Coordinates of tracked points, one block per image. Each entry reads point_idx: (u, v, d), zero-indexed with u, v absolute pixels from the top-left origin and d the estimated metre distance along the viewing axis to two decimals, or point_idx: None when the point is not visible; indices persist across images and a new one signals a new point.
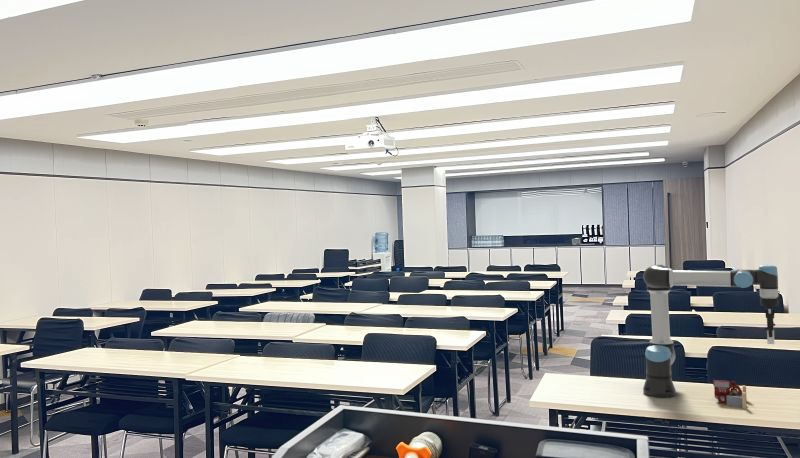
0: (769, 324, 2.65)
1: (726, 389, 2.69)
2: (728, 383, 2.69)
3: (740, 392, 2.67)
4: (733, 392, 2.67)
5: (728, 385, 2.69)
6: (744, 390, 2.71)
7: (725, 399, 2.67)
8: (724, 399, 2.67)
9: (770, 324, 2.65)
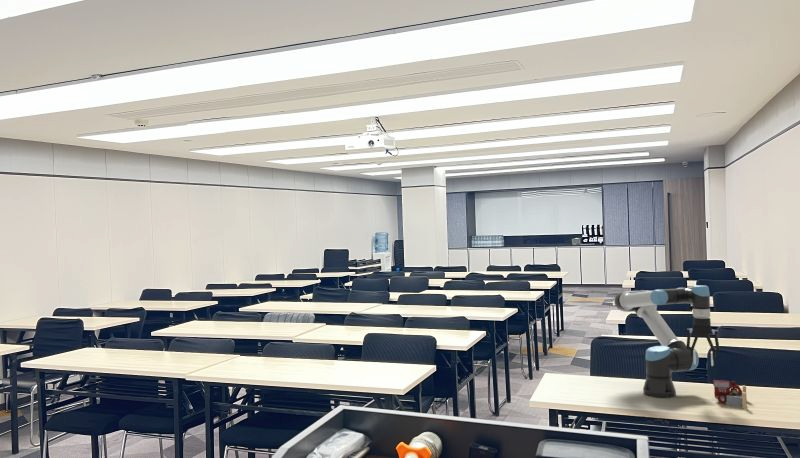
0: None
1: (726, 389, 2.69)
2: (728, 383, 2.69)
3: (740, 392, 2.67)
4: (733, 392, 2.67)
5: (728, 385, 2.69)
6: (744, 390, 2.71)
7: (725, 399, 2.67)
8: (724, 399, 2.67)
9: None
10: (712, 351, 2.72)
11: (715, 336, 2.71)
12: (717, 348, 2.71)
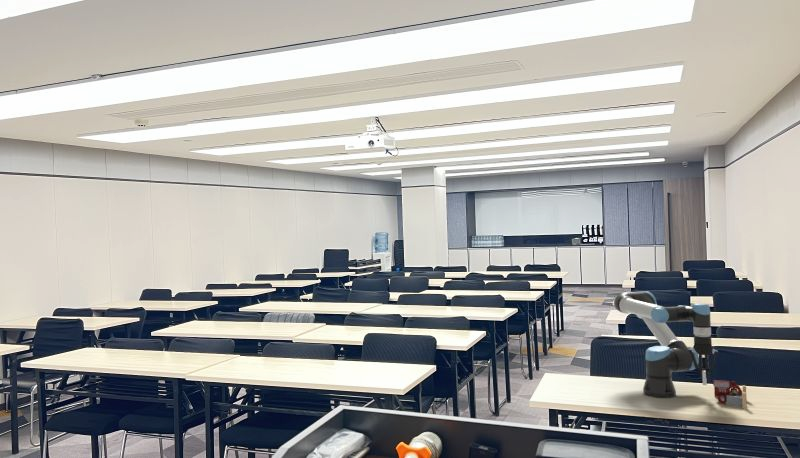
0: None
1: (726, 389, 2.69)
2: (728, 383, 2.69)
3: (740, 392, 2.67)
4: (733, 392, 2.67)
5: (728, 385, 2.69)
6: (744, 390, 2.71)
7: (725, 399, 2.67)
8: (724, 399, 2.67)
9: (694, 364, 2.77)
10: None
11: (713, 356, 2.71)
12: (711, 367, 2.72)
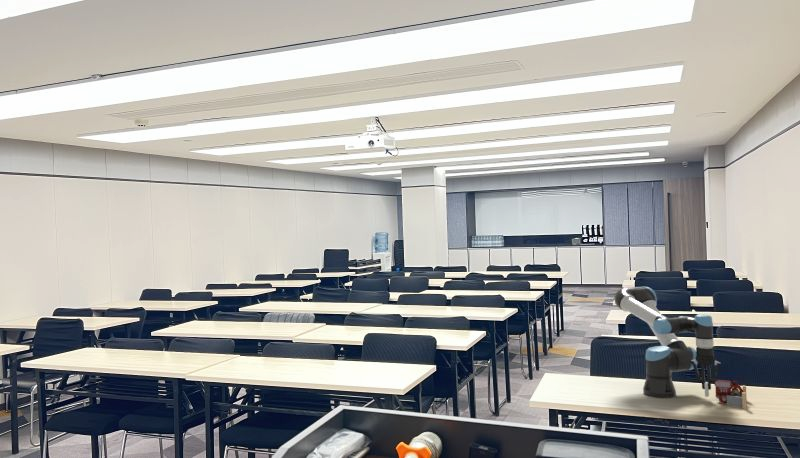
0: None
1: (727, 389, 2.69)
2: (729, 383, 2.68)
3: (741, 392, 2.66)
4: (734, 392, 2.67)
5: (729, 385, 2.68)
6: (744, 390, 2.71)
7: (726, 399, 2.66)
8: (725, 399, 2.67)
9: None
10: None
11: (716, 368, 2.71)
12: (713, 379, 2.71)
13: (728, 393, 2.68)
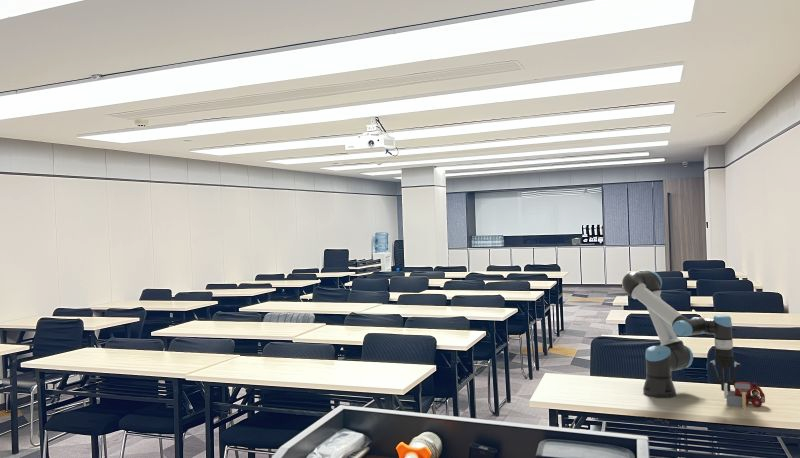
0: None
1: (747, 391, 2.64)
2: (749, 385, 2.64)
3: (761, 394, 2.62)
4: (754, 394, 2.63)
5: (749, 387, 2.64)
6: None
7: (747, 401, 2.62)
8: (746, 401, 2.62)
9: (715, 377, 2.72)
10: (727, 383, 2.68)
11: (735, 369, 2.66)
12: (732, 380, 2.67)
13: (748, 395, 2.64)
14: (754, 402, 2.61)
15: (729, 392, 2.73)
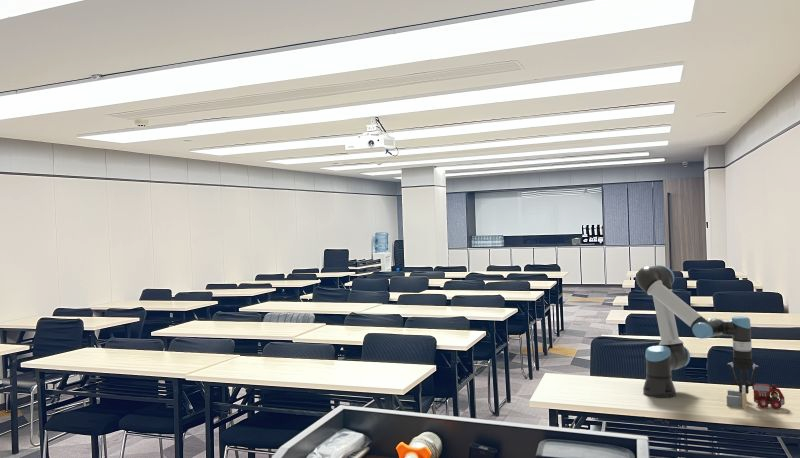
0: None
1: (766, 393, 2.60)
2: (768, 387, 2.60)
3: (781, 396, 2.58)
4: (774, 396, 2.59)
5: (768, 389, 2.60)
6: None
7: (766, 403, 2.58)
8: (765, 403, 2.58)
9: (733, 379, 2.68)
10: (745, 385, 2.64)
11: (754, 371, 2.63)
12: (751, 383, 2.63)
13: (767, 397, 2.60)
14: (773, 404, 2.57)
15: (729, 392, 2.73)
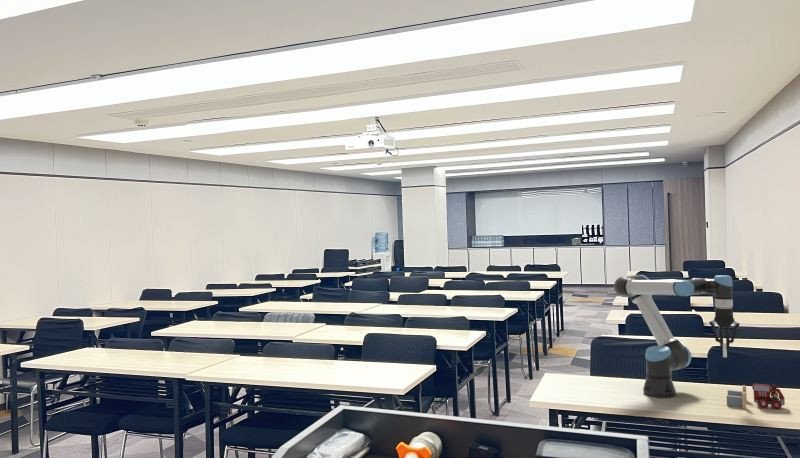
0: (715, 336, 2.74)
1: (767, 393, 2.60)
2: (768, 387, 2.60)
3: (781, 396, 2.58)
4: (774, 396, 2.59)
5: (768, 389, 2.60)
6: (744, 390, 2.71)
7: (766, 403, 2.58)
8: (765, 403, 2.58)
9: None
10: (726, 342, 2.70)
11: (735, 328, 2.68)
12: (732, 339, 2.69)
13: (767, 397, 2.60)
14: (774, 404, 2.57)
15: (729, 392, 2.73)
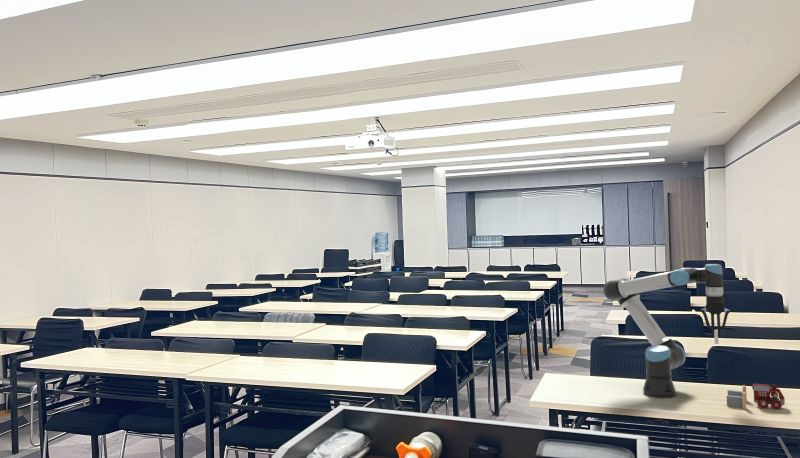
0: None
1: (767, 393, 2.60)
2: (768, 387, 2.60)
3: (781, 396, 2.58)
4: (774, 396, 2.59)
5: (768, 389, 2.60)
6: (744, 390, 2.71)
7: (766, 403, 2.58)
8: (765, 403, 2.58)
9: None
10: None
11: (725, 315, 2.76)
12: (723, 326, 2.76)
13: (767, 397, 2.60)
14: (774, 404, 2.57)
15: (729, 392, 2.73)
